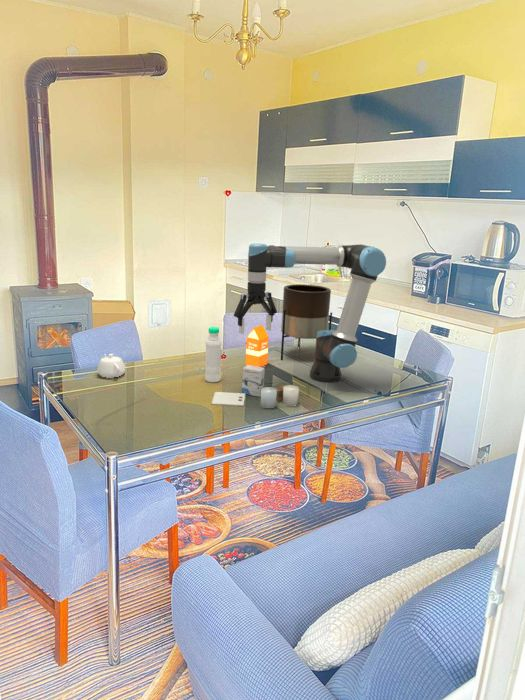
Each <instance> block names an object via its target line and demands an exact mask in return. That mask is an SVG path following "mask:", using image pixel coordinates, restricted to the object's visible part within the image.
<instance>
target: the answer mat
mask: <svg viewBox="0 0 525 700" xmlns="http://www.w3.org/2000/svg"><path fill="white" fill-rule="evenodd" d="M245 399H246V394H245V393H242V392H241V393H239V392H222V391H215V392H214V395H213V398H212V400H211V406H227V407H228V406H229V407H230V406H231V407H244V405H245Z"/></svg>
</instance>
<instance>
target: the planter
mask: <svg viewBox="0 0 525 700" xmlns="http://www.w3.org/2000/svg"><path fill="white" fill-rule="evenodd" d="M331 293H332V290H331V289H330V288H329V287H326V286H322V285H314V284H301V283H300V284H289V285H288V284H287V285H285V286H284V287H283V298H282V312H281V314H282V315H281V324H280V325H281V327H280V329H281V330H280V331H281V333H282V335H281V350H280V361H283V360H284V344H285V338H289V337H290V338H296V339H298V342H297V348H298V347H300V345H301V339H303V340H304V339H308V340H310V339H311V340H312V339H313V340H314V339H316V337H317V332H318V331H321V330H332V323H333V321H332V319H333V312H330V305H331Z"/></svg>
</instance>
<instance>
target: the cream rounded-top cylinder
mask: <svg viewBox="0 0 525 700" xmlns="http://www.w3.org/2000/svg"><path fill="white" fill-rule="evenodd" d="M283 386H284V387H283V401H281V402H282V403H281V404H282V405H283V404H285V405H288V406H287V407H290V406H293V407H295V406H294V405H297V404H299V393H300V392H299V391H300V388H299V386H296V385H292V384H286V385H283ZM285 405H284V406H285ZM297 406H298V405H297Z"/></svg>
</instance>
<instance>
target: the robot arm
mask: <svg viewBox="0 0 525 700" xmlns="http://www.w3.org/2000/svg"><path fill="white" fill-rule="evenodd" d="M247 256H248V257H247V259H248V261H247V265H248V267H247V281H248V282H247V288H246V289H247V294H244V293H241V294H240V298H239V299H240V300H239V301H238V305H237V306H236V309H235V311H234V313H233V317H235V318H237V326H239V327H238V333H239V334H241V335H245V318H244V317H245V316H246V314H247V312H248V311H249V309H250V308H251V307H253V306H254V305H261V306H262V307H263V309H264V310H265V312H266V313H267V314H266V317H265V318H266V320H265V330H267V331H272V323H273V320H274V319H273V316H275V314H277V313H278V312H277V308H276V305H275V303H274V301H273V298H272V292H269V291H266V287H267V286H266V283H267V282H266V281H267V268H293V267H294V266H295V265H331V266H332V265H333V266H334V265H336V266H337V267H338V268H347V269H350V273H349V275H350V276H351V280H350V285H349V287H348V288H349V289H348V291H347V294H346V298H345V300H344V304H343V308H342V312H341V315H340V317H339V321H338V324H337V327H336V330H335V329H334V330H333V329H331V330H329V329H328V330H321V331H318V332H317V337H316V340H315V352H314V353H315V354H314V361H313V364H312V365H311V368H310V371H309V377H310V378H311V379H313V380H315V381H317V382H322V383H323V382H324V383H334V381H336V382H339V381H340V379H342V376H343V375H342V370H341V369H342V368H343V369H344V368H348V367H350V366H352V365H353V364H354V363H355V362H356V359H357V356H358V351H357V348H356V346H357V342H358V339H357V337H356V333H357V330H358V327H359V324H360V320H361V318H362V315H363V312H364V309H365V306H366V302H367V299H368V295H369V293H370V289H371V286H372V284H374V283H376V281H377V279H378V277H379V275H380V274H382V273H383V272H384V270H385V269H386V266H387V258H386V257H387V256H385V253H384V251H382V250H381V249H379V248H377V247H375V246H370V245H365V244H347V245H341V244H340V245H338V246H337V247H329V246H328V247H327V246H326V247H324V246H321V247H320V246H293V245H292V246H291V245H290V246H286V245H284V246H283V245H278V246H277V245H273V244H272V245H271V244H269V245H267V244H266V243H260V242H259V243H255V242H254V243H250V244H249V245H248V253H247ZM265 298H266V299H265ZM266 301H267V302H266ZM267 303H268V304H267ZM338 380H339V381H338Z"/></svg>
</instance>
